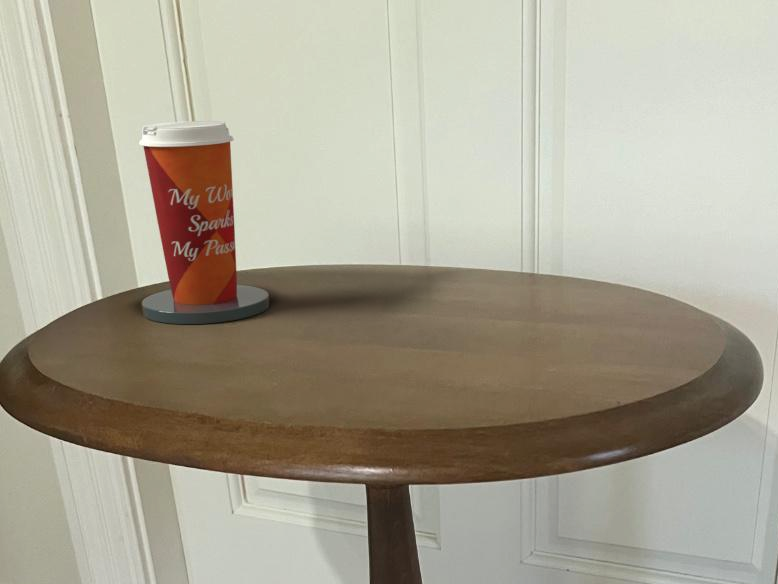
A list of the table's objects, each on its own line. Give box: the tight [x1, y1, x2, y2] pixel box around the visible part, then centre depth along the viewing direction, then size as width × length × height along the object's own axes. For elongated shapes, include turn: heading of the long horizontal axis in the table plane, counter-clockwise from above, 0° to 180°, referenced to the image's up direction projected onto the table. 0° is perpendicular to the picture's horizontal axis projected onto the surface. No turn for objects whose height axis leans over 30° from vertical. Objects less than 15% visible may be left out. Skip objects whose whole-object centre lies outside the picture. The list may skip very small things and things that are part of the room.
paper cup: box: [138, 120, 238, 305], centre depth 92 cm, size 8×8×14 cm
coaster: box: [141, 284, 270, 325], centre depth 95 cm, size 11×11×1 cm
